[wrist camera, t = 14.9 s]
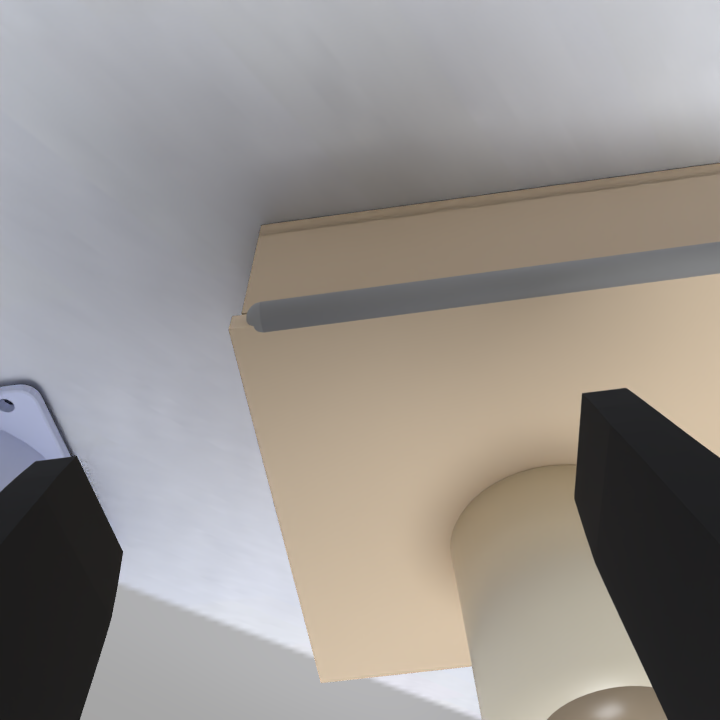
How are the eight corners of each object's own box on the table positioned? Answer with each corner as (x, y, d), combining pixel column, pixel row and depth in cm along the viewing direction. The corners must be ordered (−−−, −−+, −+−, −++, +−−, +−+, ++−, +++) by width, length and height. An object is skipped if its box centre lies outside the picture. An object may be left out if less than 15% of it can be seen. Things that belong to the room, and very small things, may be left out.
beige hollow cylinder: (458, 614, 19) (493, 811, 14) (442, 479, 16) (479, 670, 12) (638, 592, 18) (730, 786, 14) (651, 452, 16) (769, 637, 11)
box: (326, 522, 25) (326, 642, 21) (261, 225, 18) (241, 313, 14) (673, 481, 25) (744, 595, 20) (733, 161, 18) (856, 232, 14)
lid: (321, 663, 20) (320, 684, 20) (228, 300, 14) (224, 315, 13) (758, 614, 20) (772, 634, 19) (870, 215, 14) (896, 227, 13)
